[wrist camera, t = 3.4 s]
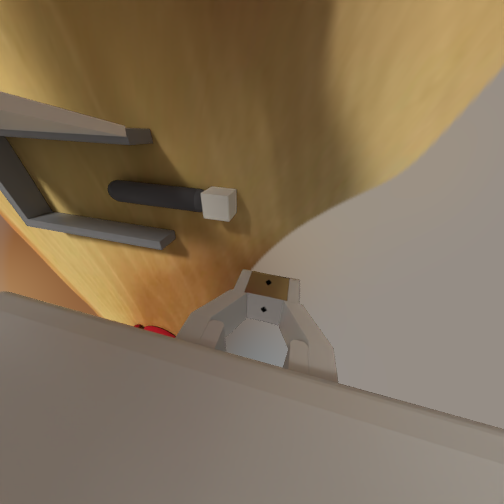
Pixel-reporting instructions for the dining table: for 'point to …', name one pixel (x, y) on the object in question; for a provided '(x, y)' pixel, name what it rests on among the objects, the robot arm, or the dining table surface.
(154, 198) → the white-capped dark rod
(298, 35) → the dining table surface
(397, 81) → the dining table surface
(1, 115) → the cover
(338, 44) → the dining table surface
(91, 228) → the grey flat frame
